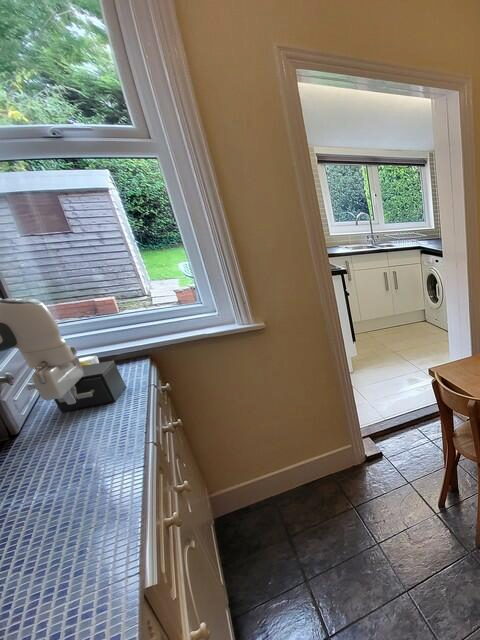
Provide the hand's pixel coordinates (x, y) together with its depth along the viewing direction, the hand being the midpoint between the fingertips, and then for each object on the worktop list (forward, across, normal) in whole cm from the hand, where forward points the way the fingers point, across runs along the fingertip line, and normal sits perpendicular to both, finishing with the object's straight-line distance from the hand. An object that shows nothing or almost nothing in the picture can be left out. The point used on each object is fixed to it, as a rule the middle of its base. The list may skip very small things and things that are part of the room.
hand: (73, 402), depth 118 cm
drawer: (+4, +10, 0) cm, 11 cm away
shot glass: (+5, +41, +7) cm, 42 cm away
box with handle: (+5, +14, 0) cm, 15 cm away
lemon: (+5, +32, +5) cm, 33 cm away
